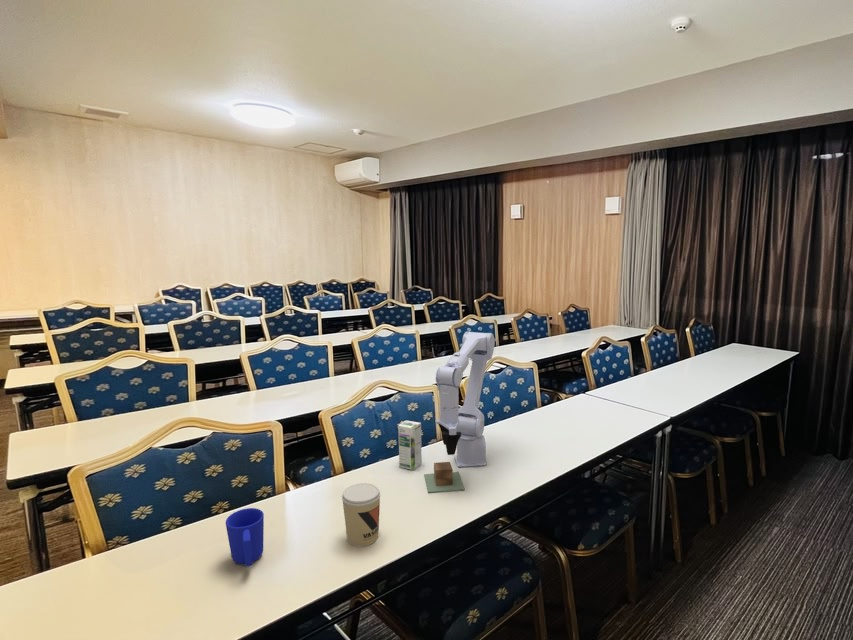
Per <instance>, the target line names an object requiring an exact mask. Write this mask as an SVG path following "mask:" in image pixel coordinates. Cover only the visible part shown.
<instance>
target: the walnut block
mask: <svg viewBox="0 0 853 640" xmlns="http://www.w3.org/2000/svg"><path fill="white" fill-rule="evenodd" d="M453 472H454V470H453V467H452V464H451V462H450V461H444V462H443V461H441V462H433V474H434V479H435V483H436V486H444V485H453Z"/></svg>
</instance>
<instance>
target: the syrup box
mask: <svg viewBox="0 0 853 640" xmlns="http://www.w3.org/2000/svg"><path fill="white" fill-rule="evenodd" d="M397 430H398V457H399V458H398V459H399V460H398V467H399V468H401V469H402V468H403V469H407V470H411V471H415V470H416V469H418V467H419V466H420V465H421V464H422V460H423V459H422V423H421V422H417V421H413V420H412V421H411V420H404V421H402V422H401V423H400V424H398V427H397Z"/></svg>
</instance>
